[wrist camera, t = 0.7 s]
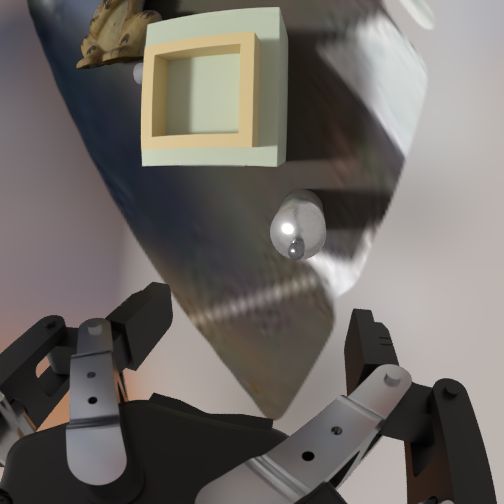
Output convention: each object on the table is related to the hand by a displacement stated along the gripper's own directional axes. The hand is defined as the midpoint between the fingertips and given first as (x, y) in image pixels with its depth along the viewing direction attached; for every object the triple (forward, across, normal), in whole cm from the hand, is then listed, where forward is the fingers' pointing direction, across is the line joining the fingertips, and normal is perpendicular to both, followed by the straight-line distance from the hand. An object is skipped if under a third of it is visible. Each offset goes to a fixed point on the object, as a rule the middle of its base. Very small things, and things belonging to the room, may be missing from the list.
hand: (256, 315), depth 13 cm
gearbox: (+21, +9, -12) cm, 26 cm away
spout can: (+21, -1, 0) cm, 21 cm away
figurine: (+21, +19, -26) cm, 39 cm away
